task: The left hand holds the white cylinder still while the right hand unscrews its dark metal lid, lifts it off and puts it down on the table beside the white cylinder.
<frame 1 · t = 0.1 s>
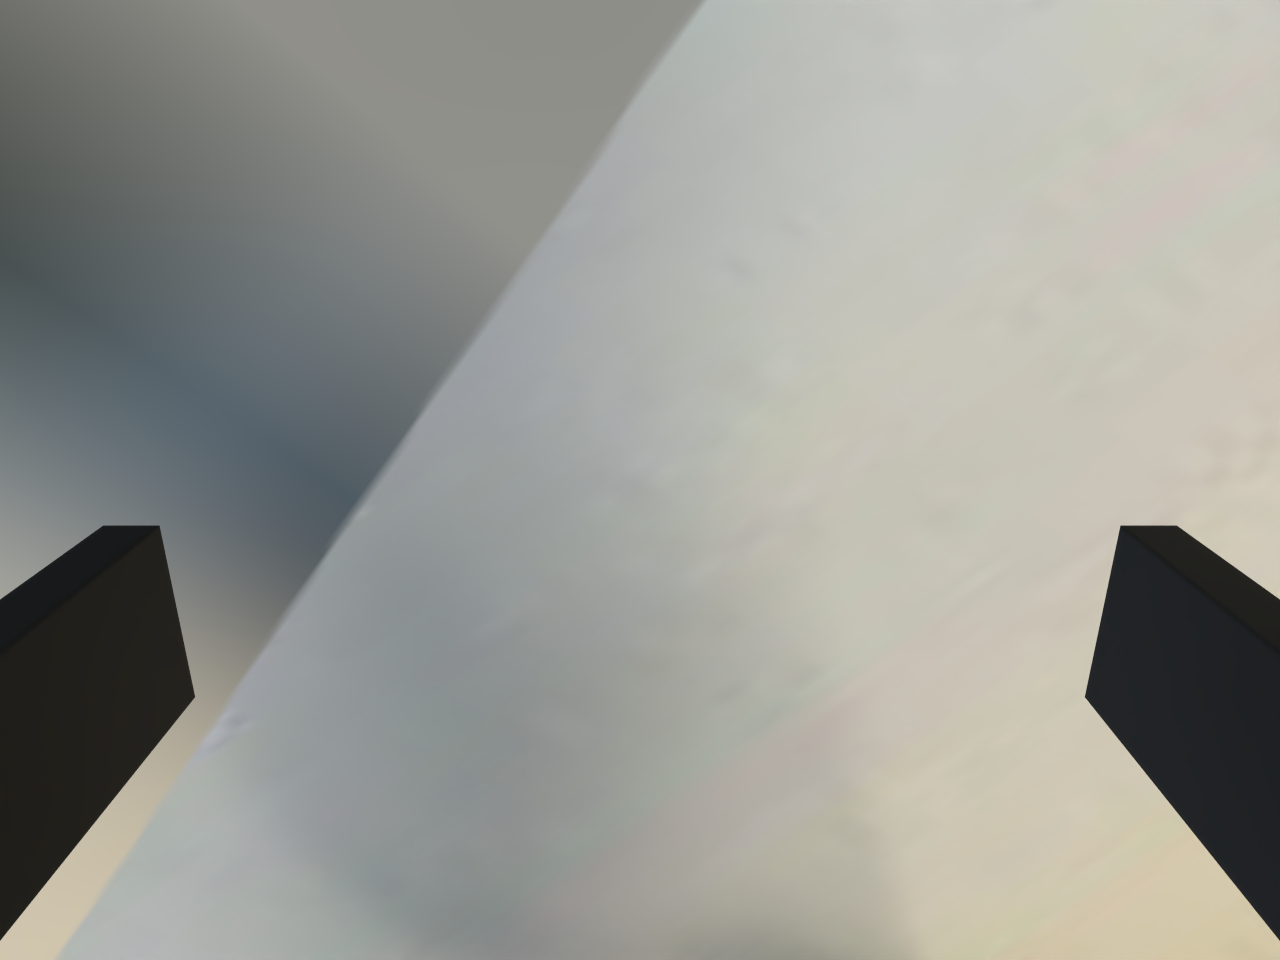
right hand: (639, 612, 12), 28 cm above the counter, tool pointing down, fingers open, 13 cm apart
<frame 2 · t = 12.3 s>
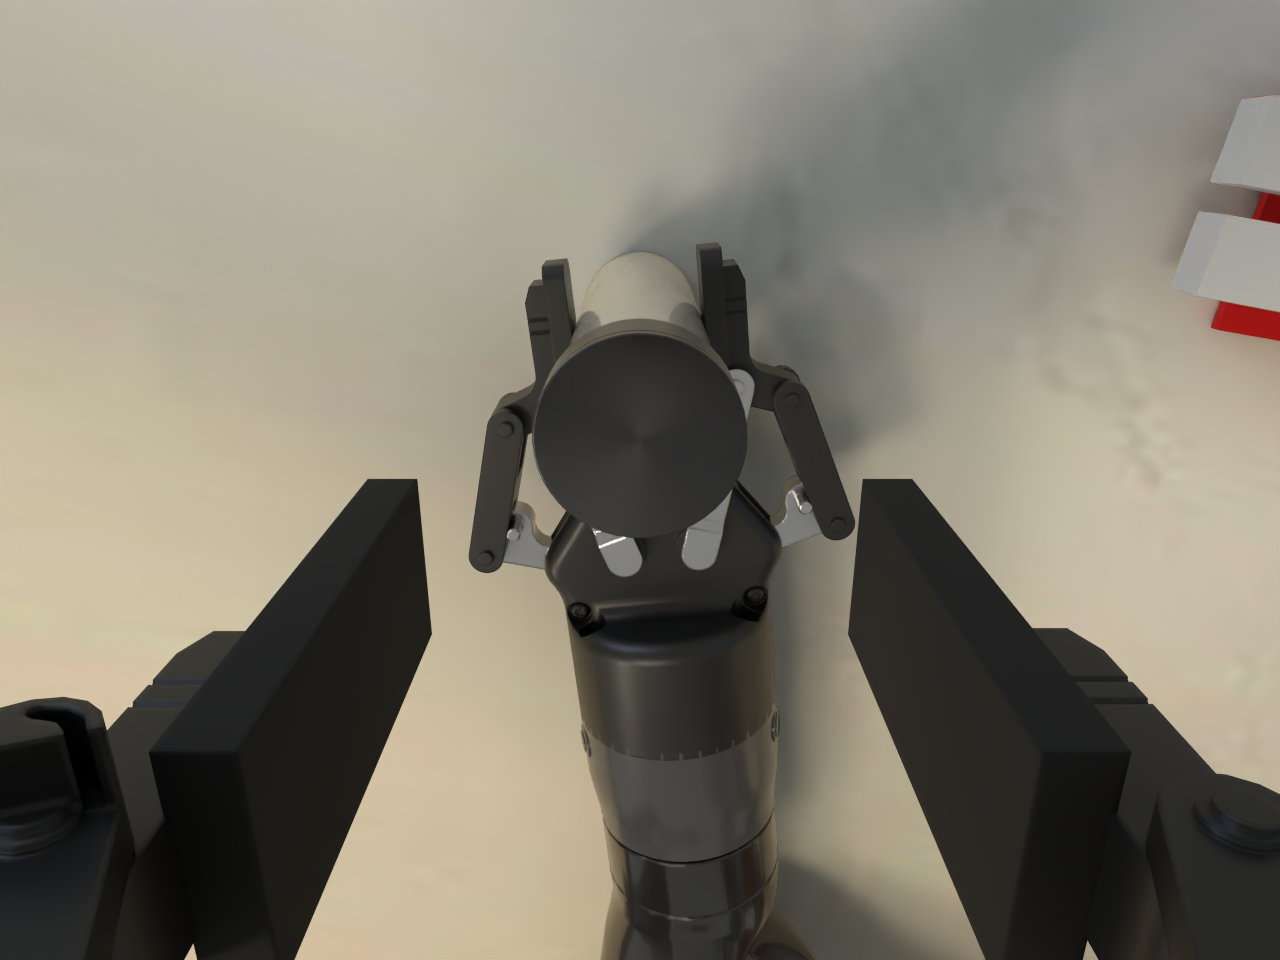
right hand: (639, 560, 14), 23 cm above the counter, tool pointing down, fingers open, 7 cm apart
left hand: (632, 256, 29), fingers closed on white cylinder, 4 cm apart
white cylinder: (640, 307, 35), on the counter, touching left hand
lid: (640, 435, 20), point 17 cm above the counter, screwed on, not yet turned
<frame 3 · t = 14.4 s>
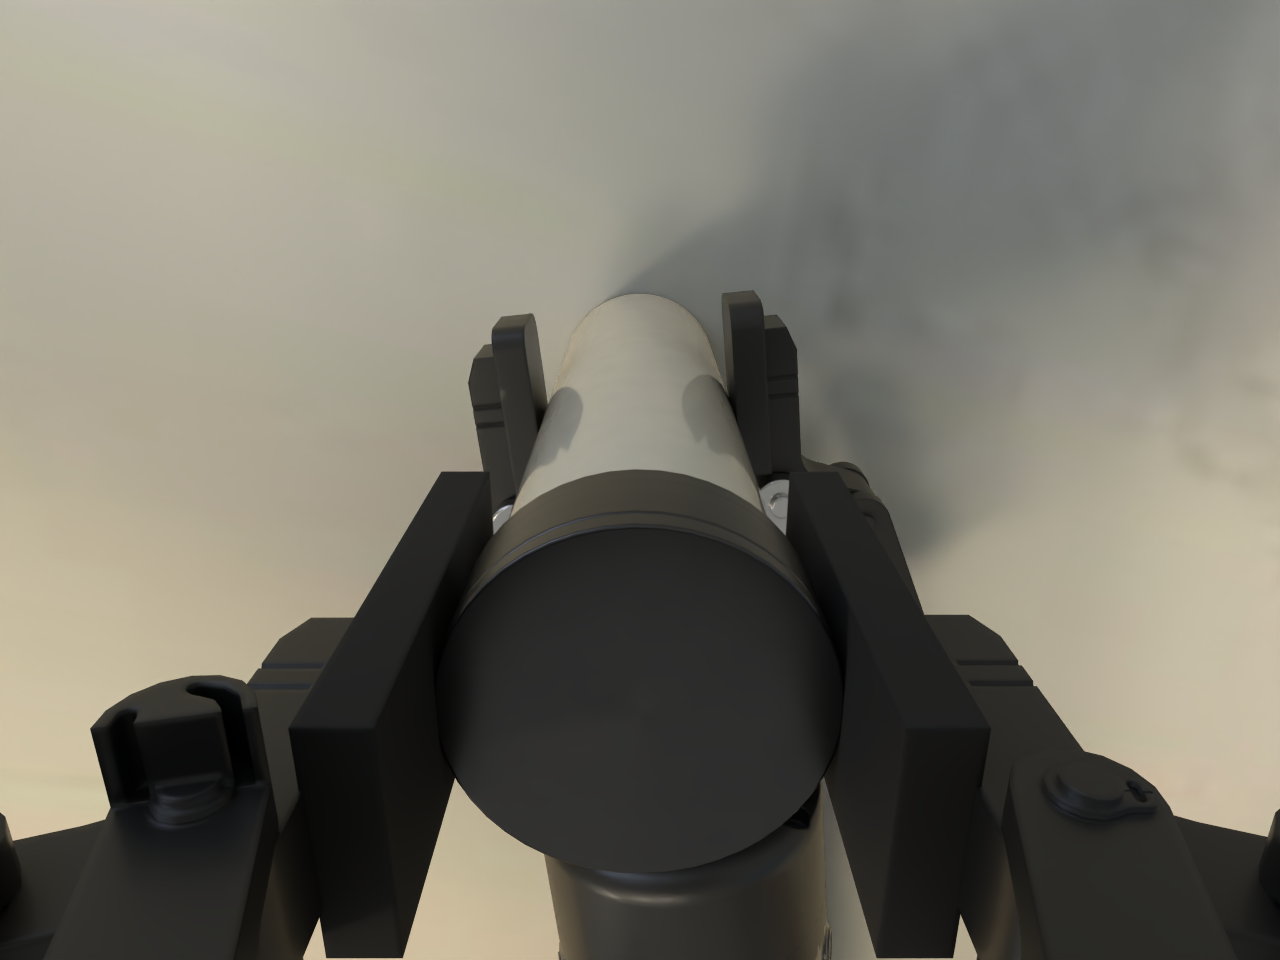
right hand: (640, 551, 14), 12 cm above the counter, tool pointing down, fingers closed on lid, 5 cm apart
white cylinder: (639, 367, 26), on the counter, touching left hand
lid: (639, 696, 11), point 17 cm above the counter, screwed on, not yet turned, touching right hand
when the right hand's fingers open (13 cm above the counter, at t = 15.7 s): lid stays where it is, point 17 cm above the counter.
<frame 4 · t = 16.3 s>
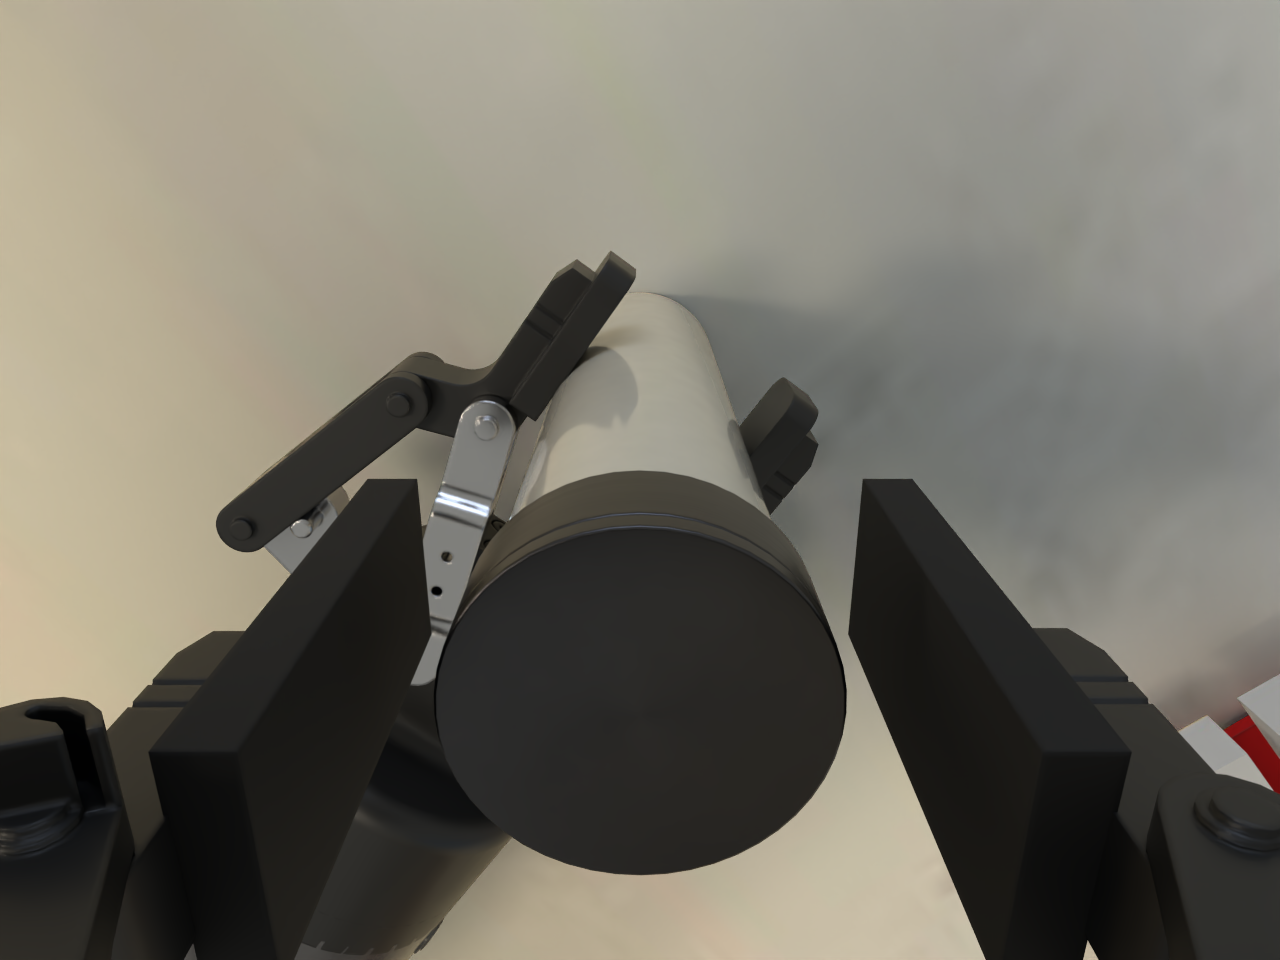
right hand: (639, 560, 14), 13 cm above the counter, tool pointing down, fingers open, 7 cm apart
white cylinder: (639, 365, 26), on the counter, touching left hand
lid: (640, 698, 11), point 17 cm above the counter, turned 101° so far, risen 0.3 cm, still on its thread
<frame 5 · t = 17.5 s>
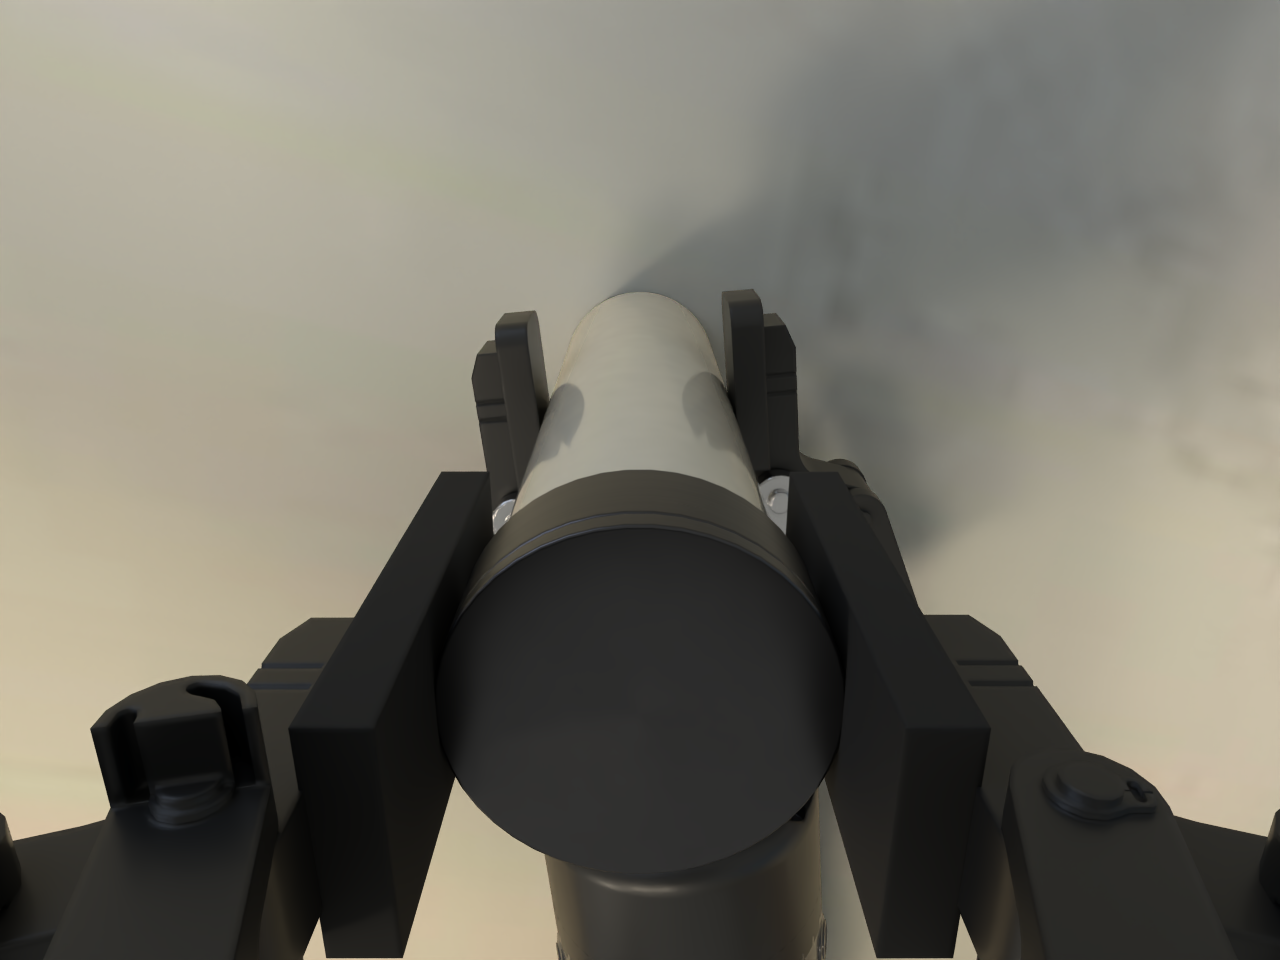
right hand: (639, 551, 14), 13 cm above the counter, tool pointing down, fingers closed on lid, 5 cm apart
white cylinder: (639, 364, 26), on the counter, touching left hand
lid: (640, 696, 11), point 17 cm above the counter, turned 101° so far, risen 0.3 cm, still on its thread, touching right hand
when the right hand's fingers open (0 cm above the counter, at t = 24.3 s): lid drops 3 cm, point 1 cm above the counter.
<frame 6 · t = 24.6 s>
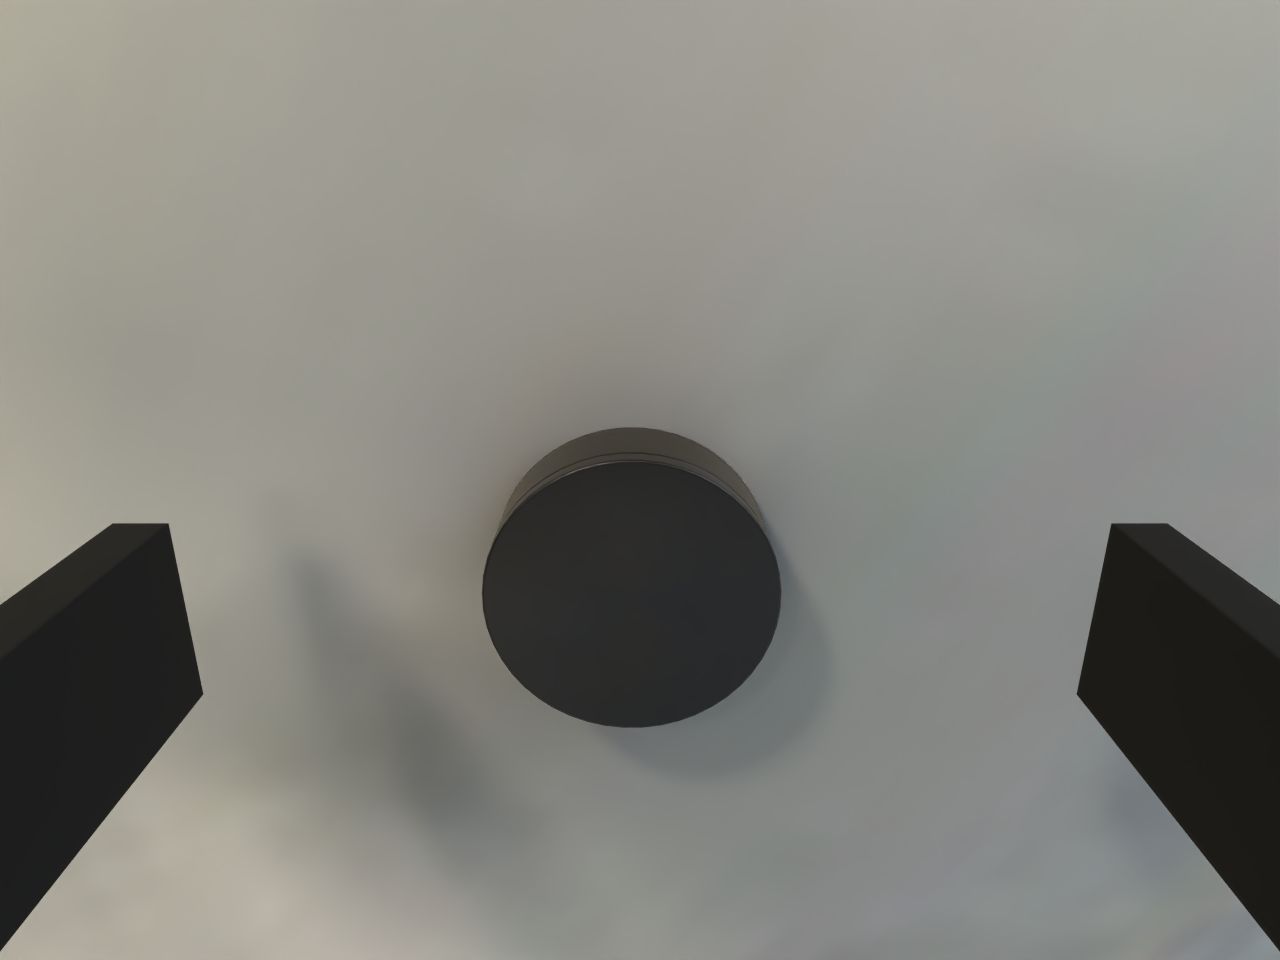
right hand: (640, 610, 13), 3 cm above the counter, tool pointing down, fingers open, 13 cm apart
lid: (631, 591, 14), point 1 cm above the counter, off its thread
when the left hand's fingers open (6 cm above the counter, at t = 25.0 s): white cylinder stays where it is, on the counter.
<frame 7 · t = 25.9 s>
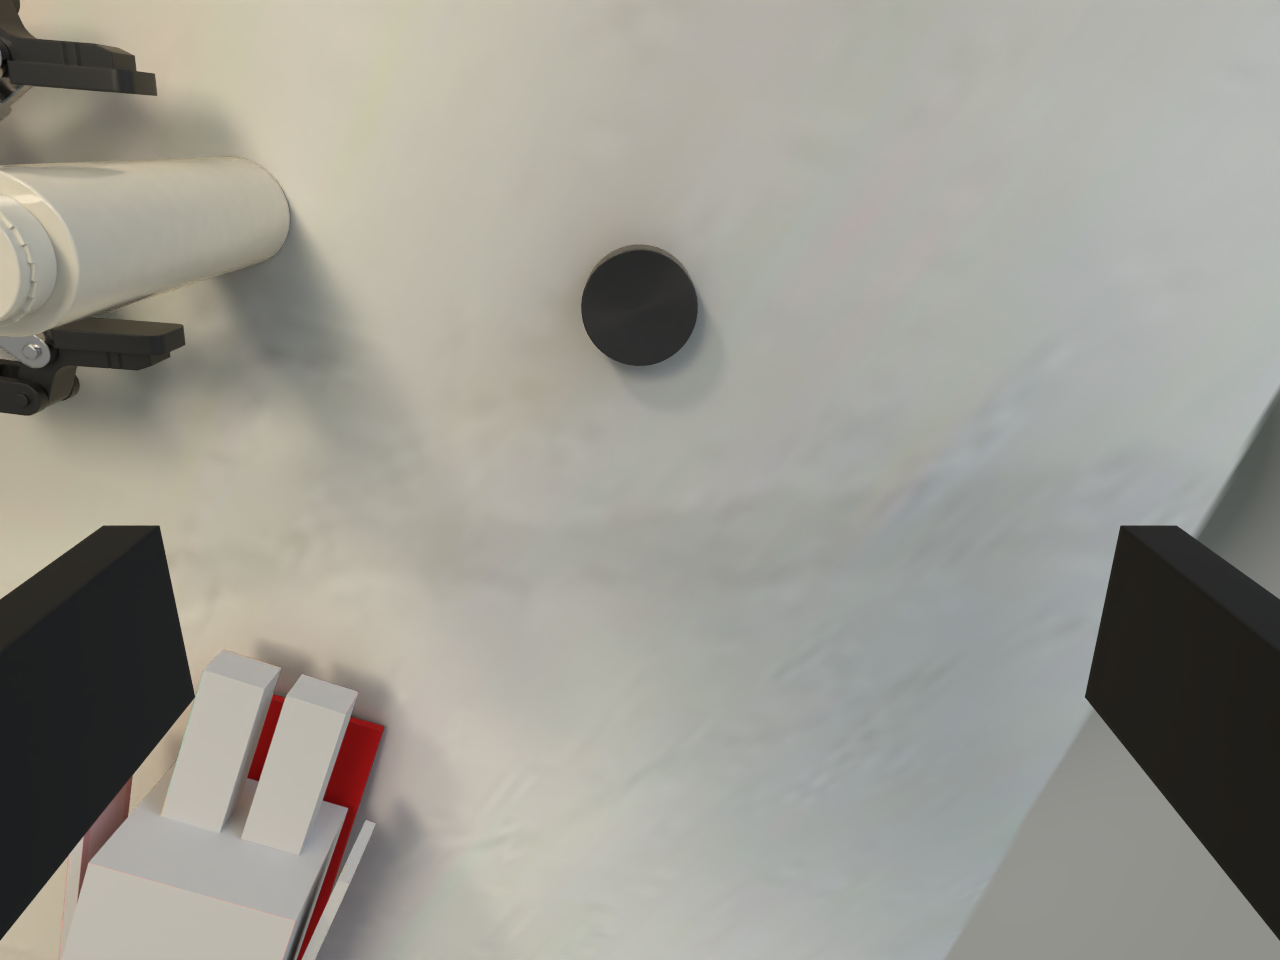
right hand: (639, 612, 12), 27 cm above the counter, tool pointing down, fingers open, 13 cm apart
toy: (247, 858, 49), on the counter
white cylinder: (238, 211, 37), on the counter
lid: (639, 307, 37), point 1 cm above the counter, off its thread
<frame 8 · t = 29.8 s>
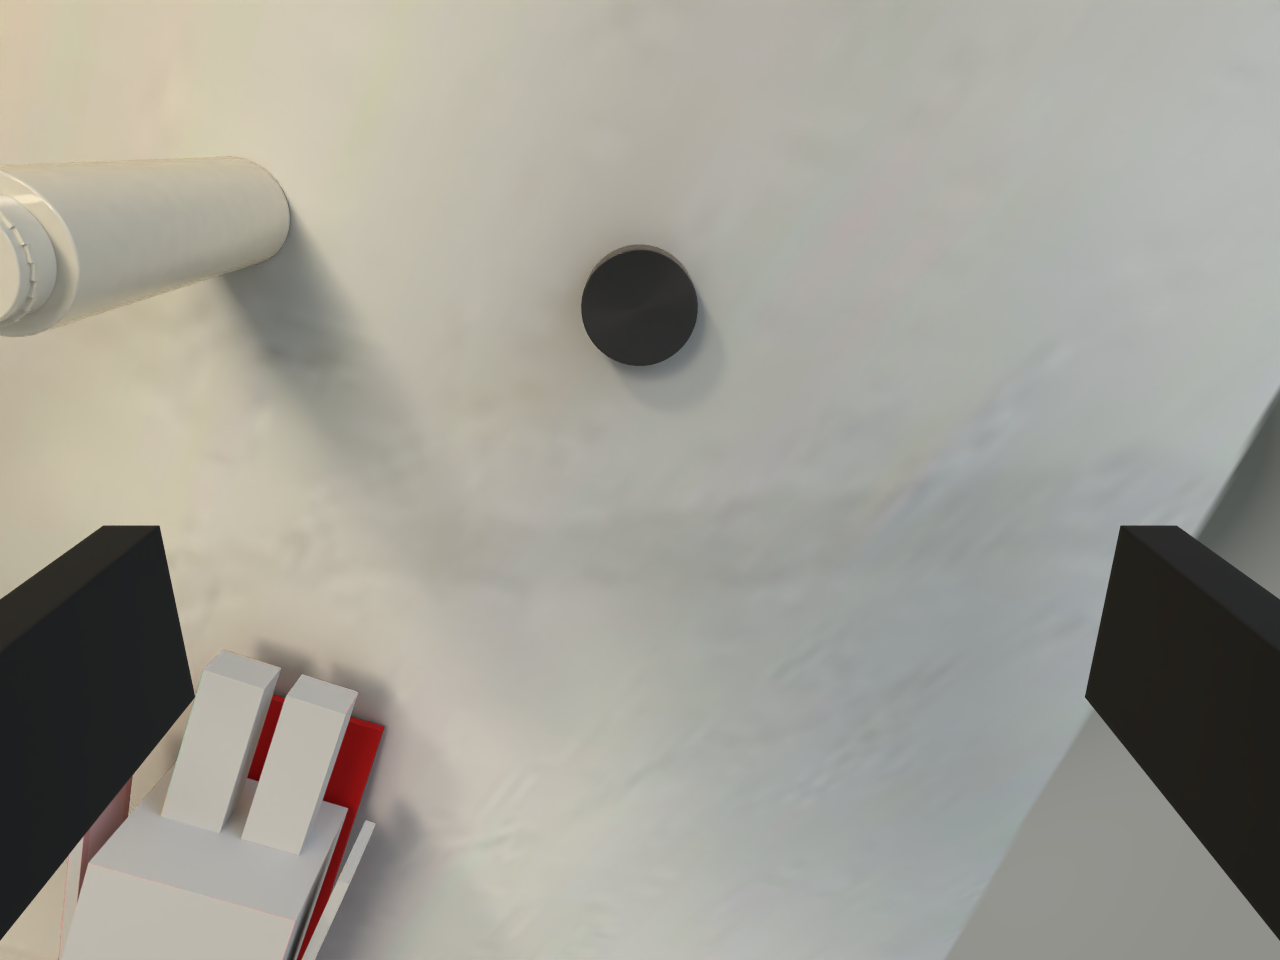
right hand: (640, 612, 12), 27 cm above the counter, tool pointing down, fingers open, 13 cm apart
toy: (247, 858, 49), on the counter
white cylinder: (237, 211, 37), on the counter
lid: (639, 307, 37), point 1 cm above the counter, off its thread
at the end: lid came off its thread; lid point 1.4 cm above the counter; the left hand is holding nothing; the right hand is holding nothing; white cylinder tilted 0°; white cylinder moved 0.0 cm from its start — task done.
